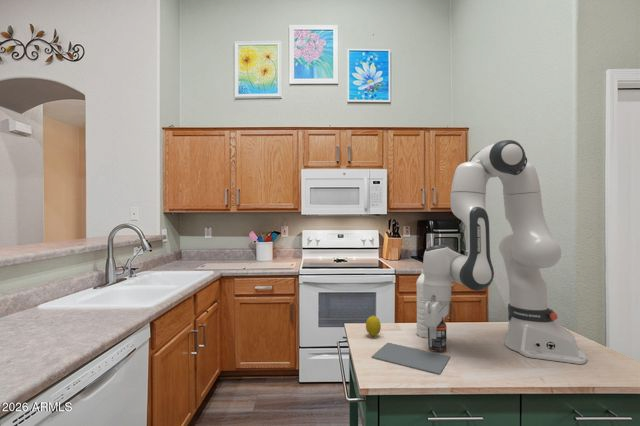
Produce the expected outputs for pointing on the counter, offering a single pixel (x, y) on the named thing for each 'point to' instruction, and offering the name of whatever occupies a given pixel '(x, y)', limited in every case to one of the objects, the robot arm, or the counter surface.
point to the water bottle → (421, 308)
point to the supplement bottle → (438, 338)
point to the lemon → (373, 325)
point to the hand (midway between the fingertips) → (437, 333)
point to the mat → (412, 358)
